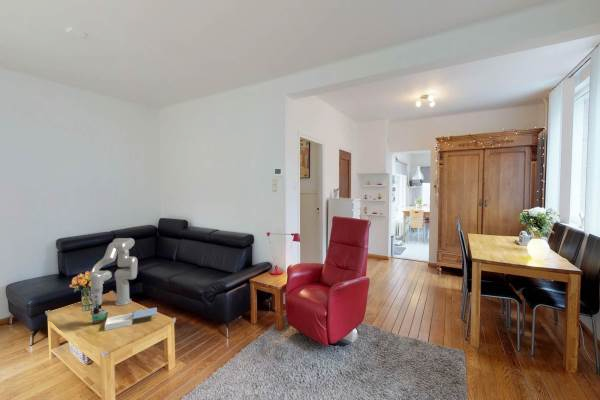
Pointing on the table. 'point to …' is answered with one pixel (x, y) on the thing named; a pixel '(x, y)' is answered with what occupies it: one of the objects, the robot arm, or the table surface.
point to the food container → (99, 316)
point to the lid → (144, 313)
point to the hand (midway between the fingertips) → (97, 311)
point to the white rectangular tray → (118, 321)
